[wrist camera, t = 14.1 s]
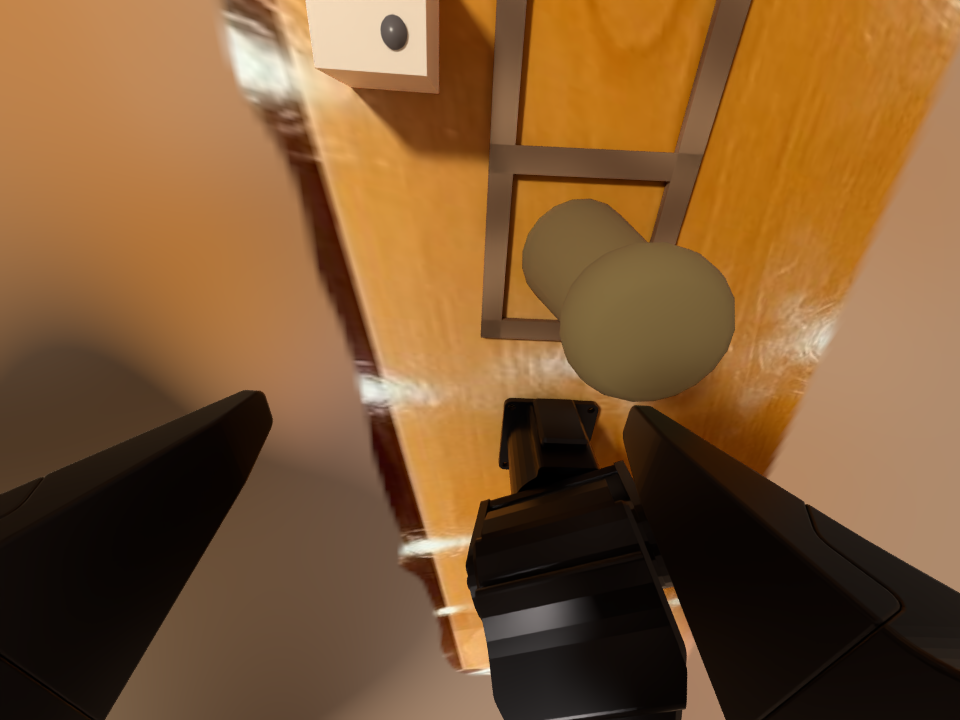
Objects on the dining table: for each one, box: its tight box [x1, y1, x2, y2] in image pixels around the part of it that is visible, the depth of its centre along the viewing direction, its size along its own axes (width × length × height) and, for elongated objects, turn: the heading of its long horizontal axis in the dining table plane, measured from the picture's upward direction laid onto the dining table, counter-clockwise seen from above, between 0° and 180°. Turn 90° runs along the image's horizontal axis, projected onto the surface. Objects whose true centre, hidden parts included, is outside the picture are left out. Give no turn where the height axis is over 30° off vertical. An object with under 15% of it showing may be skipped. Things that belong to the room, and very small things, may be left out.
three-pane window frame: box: [481, 0, 751, 341], centre depth 15 cm, size 28×10×1 cm, turn 178°
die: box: [306, 0, 439, 94], centre depth 13 cm, size 4×4×4 cm
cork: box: [522, 199, 735, 402], centre depth 15 cm, size 6×6×11 cm
